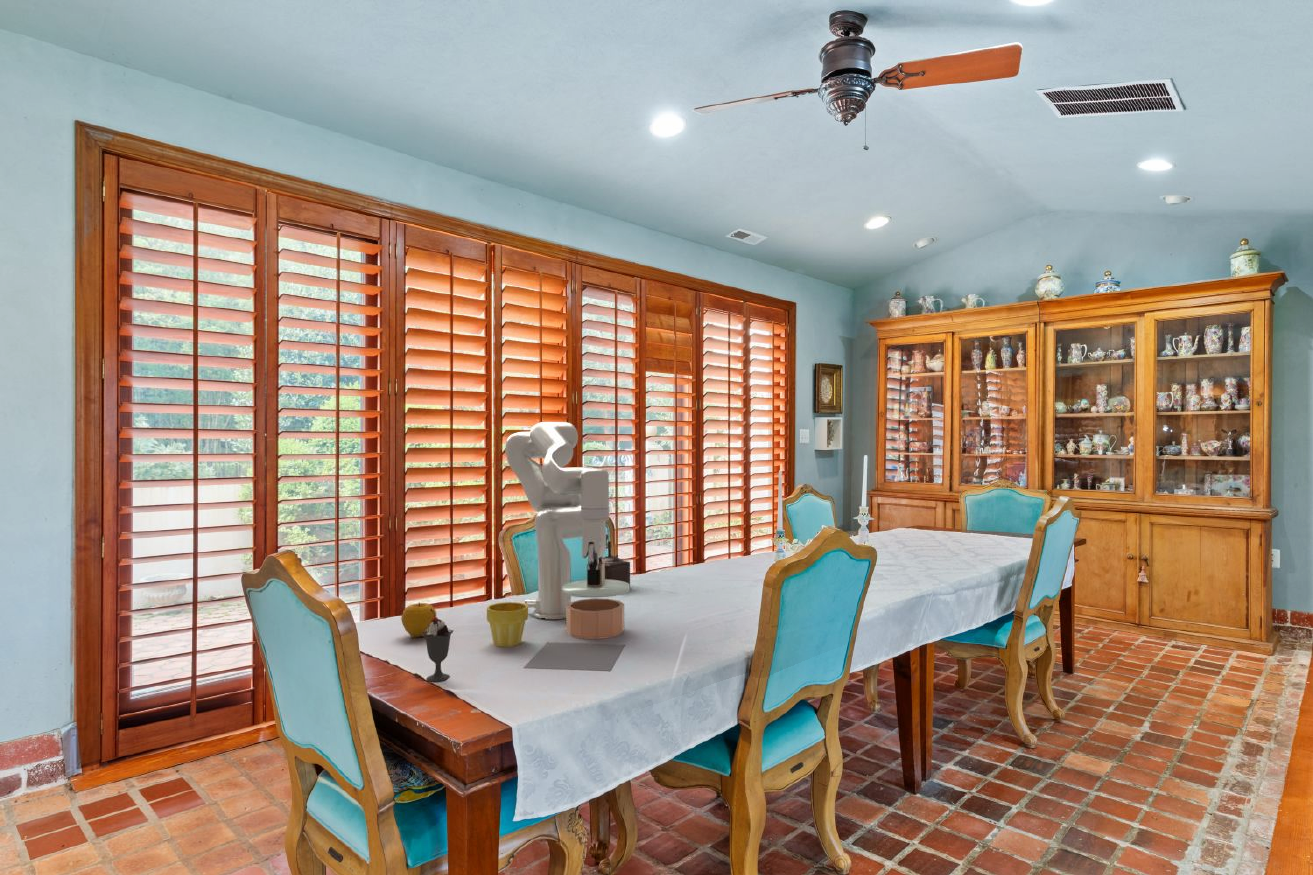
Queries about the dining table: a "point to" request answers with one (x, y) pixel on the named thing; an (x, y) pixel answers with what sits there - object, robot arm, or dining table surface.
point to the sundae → (437, 646)
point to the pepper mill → (616, 566)
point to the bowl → (595, 618)
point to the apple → (417, 618)
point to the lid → (596, 586)
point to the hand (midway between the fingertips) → (595, 582)
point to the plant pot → (507, 622)
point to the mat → (576, 656)
